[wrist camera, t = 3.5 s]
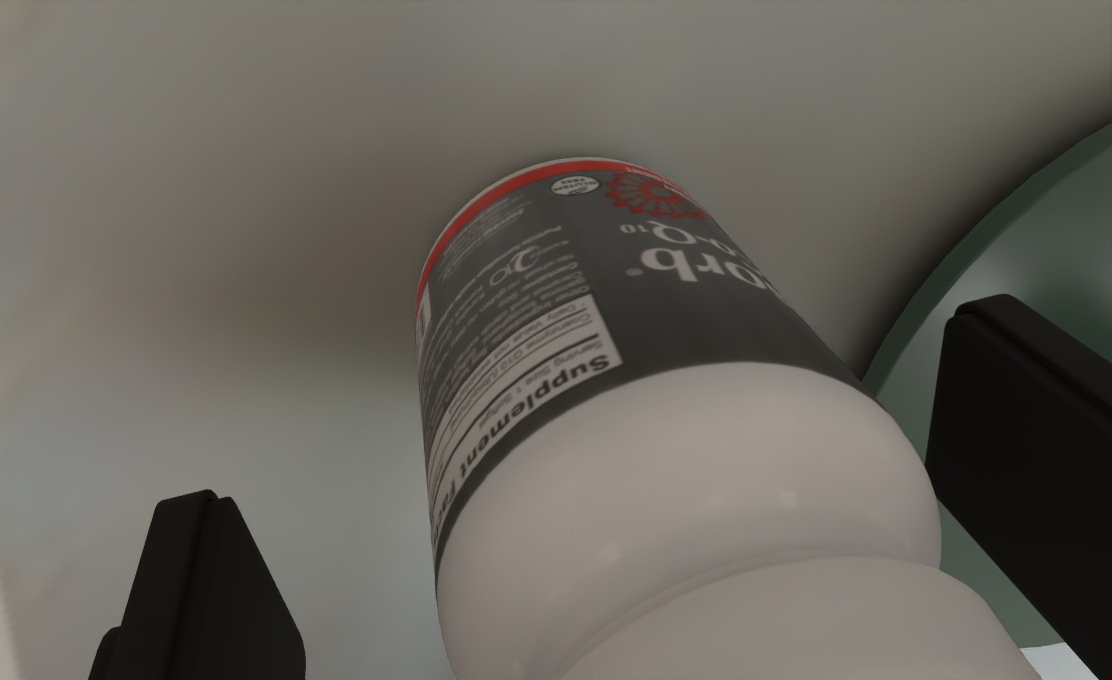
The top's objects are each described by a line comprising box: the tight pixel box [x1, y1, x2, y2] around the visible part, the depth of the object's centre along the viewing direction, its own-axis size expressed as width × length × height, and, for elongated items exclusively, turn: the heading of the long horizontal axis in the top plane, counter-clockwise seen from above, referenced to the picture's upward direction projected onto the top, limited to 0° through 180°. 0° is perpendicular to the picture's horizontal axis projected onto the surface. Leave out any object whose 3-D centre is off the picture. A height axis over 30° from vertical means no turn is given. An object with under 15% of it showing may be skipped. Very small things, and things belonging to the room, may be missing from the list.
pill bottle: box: [415, 157, 1042, 680], centre depth 11 cm, size 6×6×10 cm
